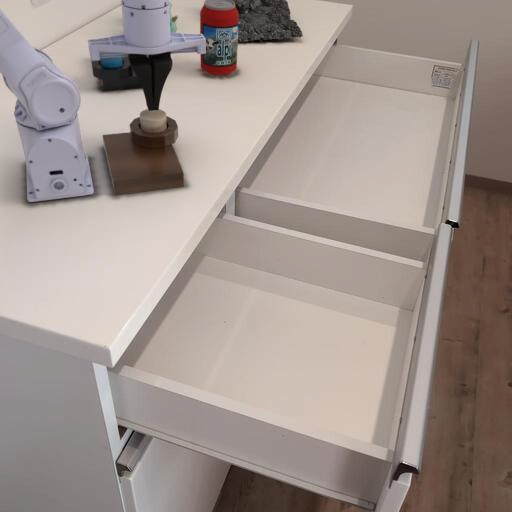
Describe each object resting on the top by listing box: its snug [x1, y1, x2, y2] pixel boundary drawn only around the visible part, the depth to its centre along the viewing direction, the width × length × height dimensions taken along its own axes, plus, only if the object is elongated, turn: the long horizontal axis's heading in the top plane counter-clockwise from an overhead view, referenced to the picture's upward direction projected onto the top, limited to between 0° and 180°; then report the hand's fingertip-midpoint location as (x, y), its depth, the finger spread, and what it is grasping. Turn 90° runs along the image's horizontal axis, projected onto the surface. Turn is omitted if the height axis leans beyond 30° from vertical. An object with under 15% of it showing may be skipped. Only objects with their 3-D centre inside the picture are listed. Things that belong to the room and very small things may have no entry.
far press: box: [90, 57, 142, 92], centre depth 96 cm, size 15×10×4 cm, turn 18°
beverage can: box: [199, 0, 239, 77], centre depth 98 cm, size 7×7×12 cm
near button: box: [139, 108, 167, 133], centre depth 76 cm, size 4×4×2 cm
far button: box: [100, 57, 123, 68], centre depth 91 cm, size 4×4×2 cm
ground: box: [232, 0, 304, 43], centre depth 121 cm, size 25×23×5 cm
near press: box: [102, 115, 185, 196], centre depth 75 cm, size 13×10×4 cm
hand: (152, 107), depth 74 cm, fingers closed
